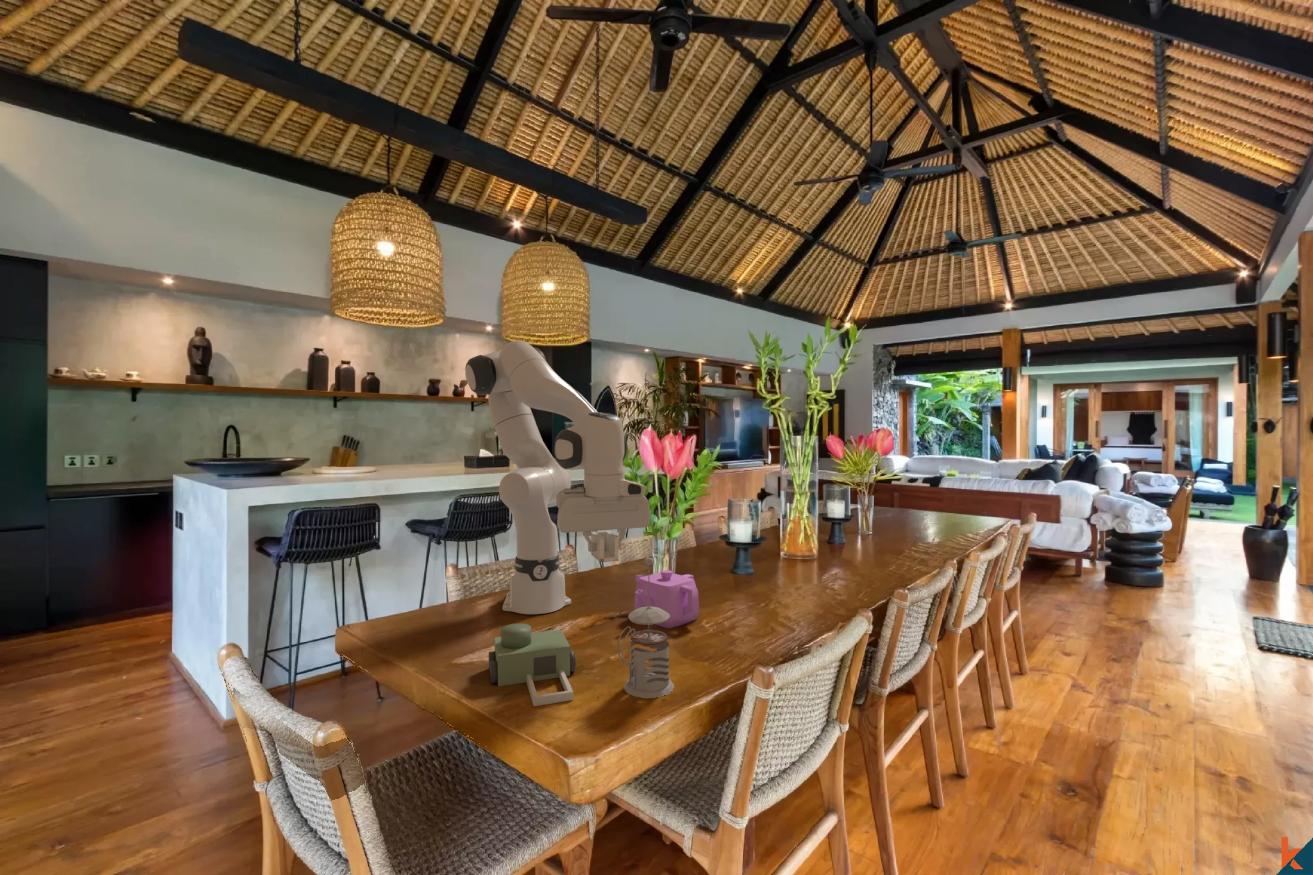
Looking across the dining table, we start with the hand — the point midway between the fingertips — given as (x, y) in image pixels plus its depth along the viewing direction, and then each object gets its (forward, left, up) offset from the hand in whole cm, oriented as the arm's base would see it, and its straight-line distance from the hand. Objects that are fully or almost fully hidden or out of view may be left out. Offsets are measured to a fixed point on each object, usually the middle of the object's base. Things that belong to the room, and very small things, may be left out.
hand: (604, 550), depth 124 cm
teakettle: (-19, +21, -24) cm, 37 cm away
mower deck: (+7, -16, -23) cm, 29 cm away
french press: (+17, +4, -23) cm, 29 cm away
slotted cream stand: (0, 0, -2) cm, 2 cm away
